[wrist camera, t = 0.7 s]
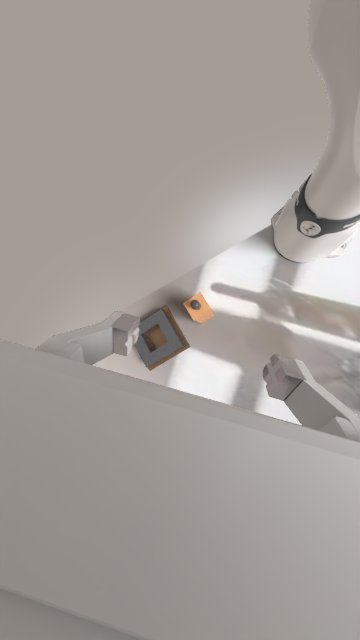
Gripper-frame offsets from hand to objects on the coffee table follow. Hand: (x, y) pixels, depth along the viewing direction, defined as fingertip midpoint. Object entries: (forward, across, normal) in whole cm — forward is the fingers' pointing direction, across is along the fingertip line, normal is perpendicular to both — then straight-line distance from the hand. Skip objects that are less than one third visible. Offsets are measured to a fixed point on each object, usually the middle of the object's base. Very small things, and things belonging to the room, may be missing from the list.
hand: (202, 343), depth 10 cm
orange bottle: (+35, -2, +16) cm, 39 cm away
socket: (+31, +8, +26) cm, 42 cm away
